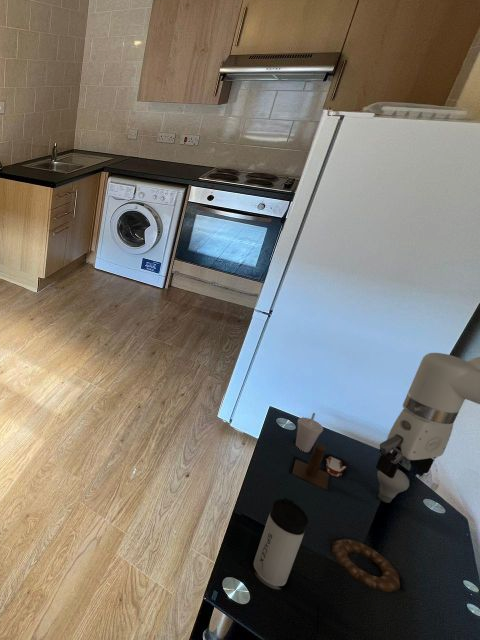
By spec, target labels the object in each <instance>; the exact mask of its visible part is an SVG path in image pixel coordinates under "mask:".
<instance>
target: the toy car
mask: <svg viewBox="0 0 480 640" xmlns="http://www.w3.org/2000/svg"><path fill="white" fill-rule="evenodd" d="M324 460H325V463H326V464H325V468H324V470H325V471H326V473H328V474H329V475H331V476H334V477H336V478H339V477H341V476H342V475H343V473H344V470H346V469H347V468H348V467H347V466H346V465H343V462H342V460H340V459H338V458H336V457H334V456H328V457H327V458H325V459H324Z"/></svg>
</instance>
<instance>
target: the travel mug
mask: <svg viewBox="0 0 480 640" xmlns="http://www.w3.org/2000/svg"><path fill="white" fill-rule="evenodd" d="M308 524H309V518H308V515H307V514H306V512H305V511H304V510H303V509H302V508H301V506H299V505H297V504H296V503H295V502H294V500H292V499H289V498H287V497H283V498H278V499H276V500H274V501H273V502H272V505H271V510H270V511H269V514H268V517H267V520H266V524H265V526H264V530H263V532H262V535H261V537H260V538H261V539H260V541H259V545H258V548H257V551H256V552H255V553H256V554H255V557H254V560H253V569H254V570H255V571H253V573H254V575H255V577H256V578H257V580H259V581H260V582H261V583H262V584H263V585H265V586H266V587H268V588H270V589H273V590H279V591H280V590H282V588H281V587H283V586H285V585H286V584H287V582H288V579H289V576H290V573H291V571H292V567H293V565H294V562H295V559H296V557H297V554H298V552H299V549H300V546H301V544H302V540H303V538H304V535H305V533H306V528H307V526H308Z"/></svg>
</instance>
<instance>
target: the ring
mask: <svg viewBox="0 0 480 640" xmlns="http://www.w3.org/2000/svg"><path fill="white" fill-rule="evenodd" d="M331 552H332V554H333V556H334V557H335V559H336V561H337V562H338V564H339V565H340V566H341V567H342V568H343V569H344V570H345V571H346V572H348V573H349V575H351V576H352V577H353V578H354V579H356V580H358V581H359V582H361V583H362V584H364V585H367V586H368V587H370V588H372V589H375V590H379V591H381V592H382V591H383V592H387V593H392V592H393V593H394V592H395V591H397V590H400V588H401V581H400V574H399V573H398V572H397V570H396V568H395V567H394V566H393V564H391V562H390V561H389V560H388V559H387V558H385V557H384V556H383V555H382V554H380V553H379V552H378V551H376V550H375V549H374V548H372V547H370V546H368V545H366V544H364V543H362V542H360V541H357V540H353V539H348V538H341V539H338V540H335V541H333V542H332V548H331ZM350 553H358V554H361V555H363V556H364V557H367V558H368V559H370V560H371V561H372V562H374V564H376V565H377V566H378V568H379V570H381V576H377V575H373V574H370V573H368V572H367V571H366V570H365V571H364V570H363V569H361V568H360V567H359V566H358V565H356V563H354V562H353V561H352V559H351V558H350V557H349V554H350Z"/></svg>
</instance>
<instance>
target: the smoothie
mask: <svg viewBox="0 0 480 640" xmlns="http://www.w3.org/2000/svg"><path fill="white" fill-rule="evenodd" d="M315 416H316V413H315V412H312V415H311V417H310V418H309V417H304V416H303V417H298V419H297V430H296V437H295V445H296V446H297V447H298V448H299V449H300V450H299V449H298V448H297V447H296V446H295V447H296V448H297V449H298V450H299V451H301V450H302V451H301V452H303V451H304V453H310V452H311V450H312V448H313V447H314V446H315V444H316V442H317V440H318V438H319V436H320V435H321V434H322V433H323V432H324V426H323V425H322V423H320V422H318V421H317V420H315V419H314V418H315Z"/></svg>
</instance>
